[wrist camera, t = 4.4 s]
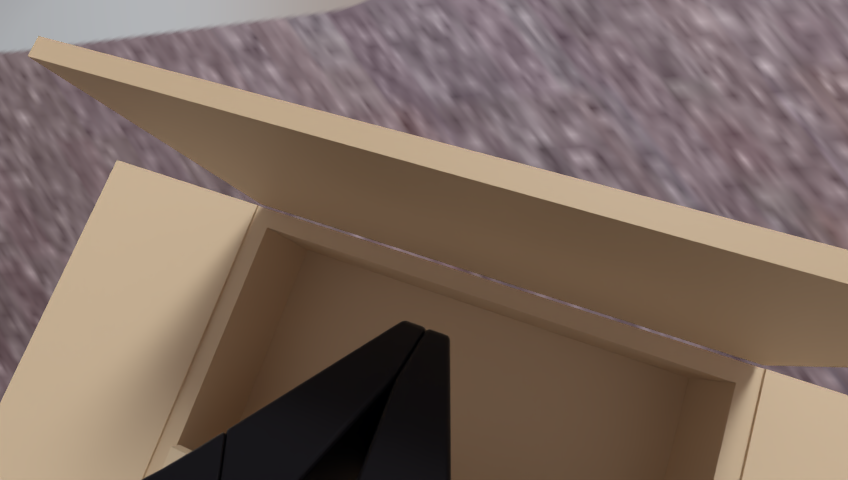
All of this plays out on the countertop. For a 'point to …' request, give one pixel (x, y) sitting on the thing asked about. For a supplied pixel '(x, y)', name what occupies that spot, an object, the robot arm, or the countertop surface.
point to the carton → (350, 329)
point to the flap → (495, 214)
